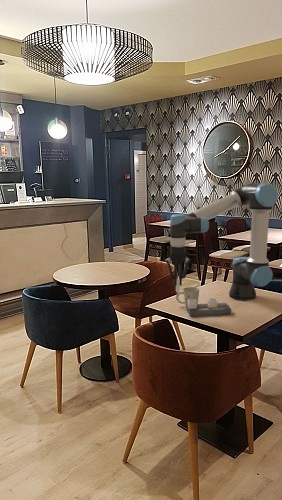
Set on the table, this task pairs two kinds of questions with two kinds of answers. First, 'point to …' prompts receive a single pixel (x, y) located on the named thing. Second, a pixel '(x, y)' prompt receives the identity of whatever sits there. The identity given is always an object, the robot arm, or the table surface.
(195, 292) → the mug
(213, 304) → the toggle
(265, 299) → the table surface
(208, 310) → the console
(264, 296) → the table surface
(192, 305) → the toggle
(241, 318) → the table surface
